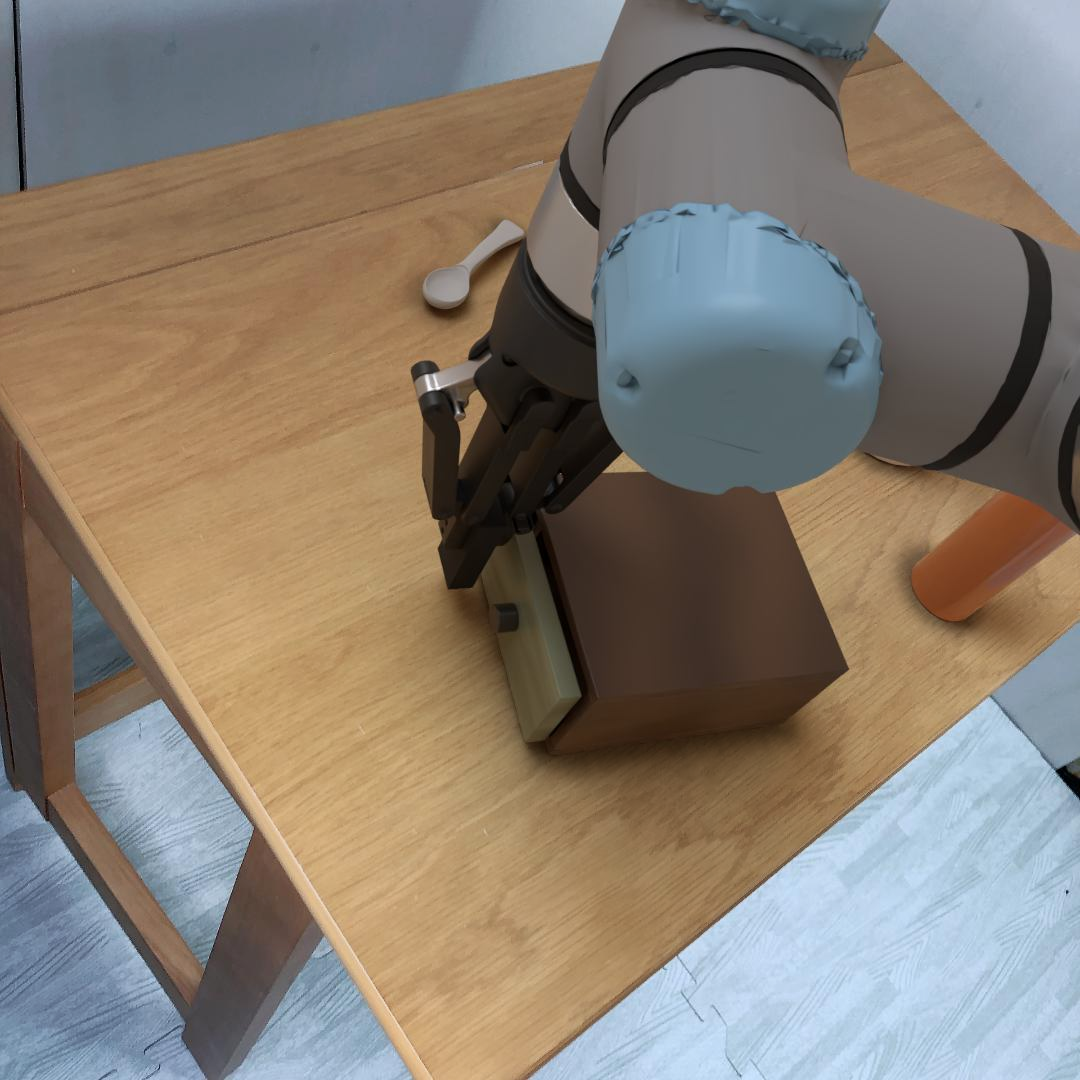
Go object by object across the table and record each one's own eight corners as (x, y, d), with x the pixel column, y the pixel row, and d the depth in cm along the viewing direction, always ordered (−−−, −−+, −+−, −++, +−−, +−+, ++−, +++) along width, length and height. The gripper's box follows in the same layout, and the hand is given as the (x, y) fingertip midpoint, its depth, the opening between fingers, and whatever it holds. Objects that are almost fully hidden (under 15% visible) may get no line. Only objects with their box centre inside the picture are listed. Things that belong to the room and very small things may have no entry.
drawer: (504, 745, 62) (538, 701, 57) (454, 548, 68) (482, 493, 63) (749, 714, 68) (798, 671, 64) (684, 536, 74) (725, 485, 70)
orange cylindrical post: (976, 630, 80) (1123, 520, 68) (913, 610, 79) (1051, 496, 68) (969, 570, 82) (1109, 456, 71) (908, 550, 81) (1040, 432, 70)
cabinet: (548, 756, 64) (598, 698, 58) (491, 545, 70) (530, 474, 64) (782, 724, 70) (849, 669, 64) (711, 533, 76) (765, 467, 70)
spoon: (408, 299, 78) (417, 277, 77) (493, 228, 86) (503, 207, 85) (444, 324, 78) (453, 303, 77) (526, 250, 86) (535, 230, 85)
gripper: (481, 343, 42) (354, 637, 61) (776, 348, 48) (576, 617, 66) (437, 196, 46) (329, 517, 64) (716, 216, 51) (542, 507, 70)
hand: (455, 567), depth 65 cm, fingers closed
